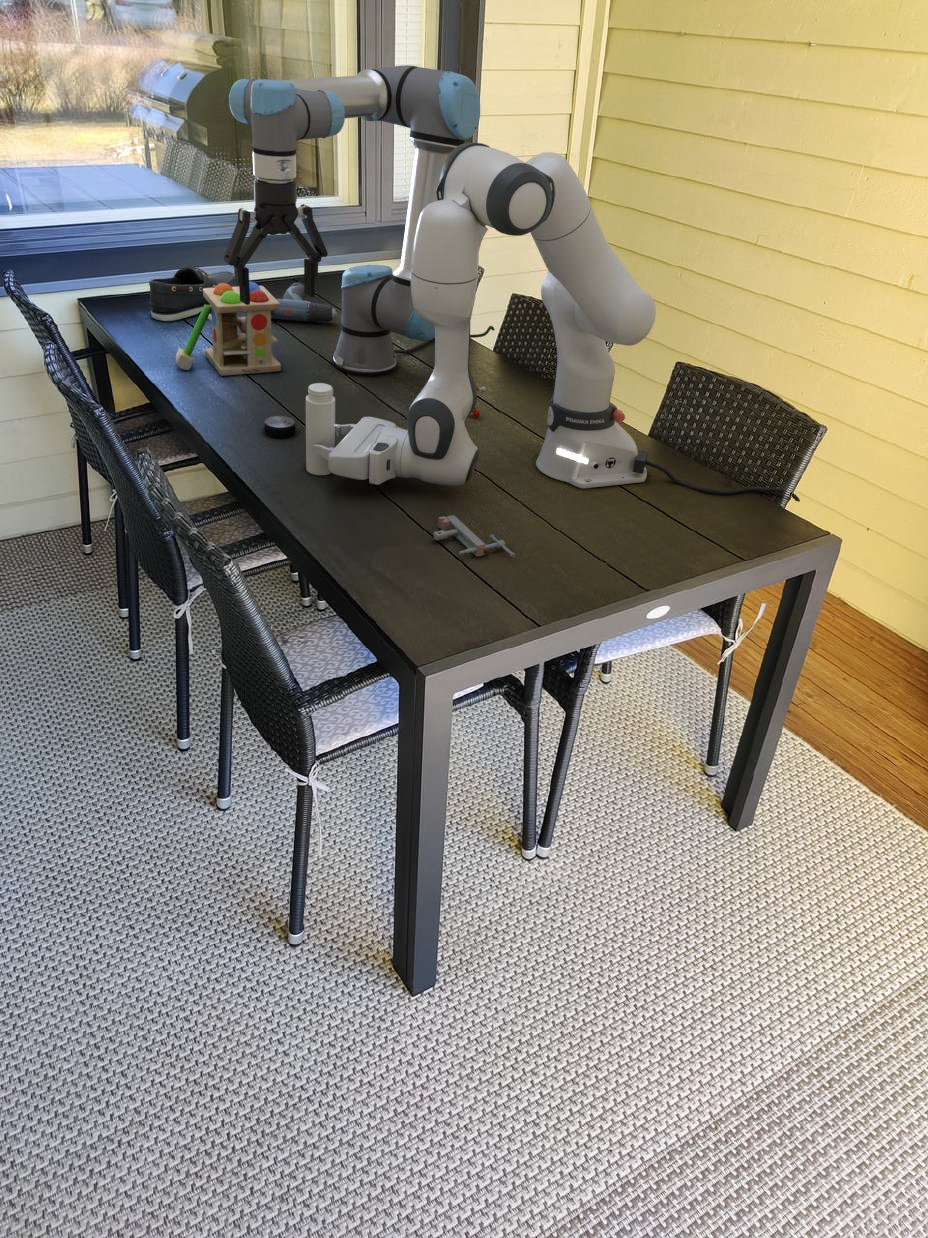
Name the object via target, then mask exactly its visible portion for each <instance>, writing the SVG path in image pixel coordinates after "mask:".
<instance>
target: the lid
mask: <svg viewBox="0 0 928 1238" xmlns="http://www.w3.org/2000/svg"><path fill="white" fill-rule="evenodd" d="M264 434H265V435H266V436H268V437H270V438H274V439H288V438H291V437H293V436H294V435H295V434H296V421H295V420H294V419H293V418H292V417H290V416H285V415H273V416H270V417H267V418H266V419H265V420H264Z"/></svg>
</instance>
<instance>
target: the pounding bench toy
mask: <svg viewBox="0 0 928 1238" xmlns="http://www.w3.org/2000/svg"><path fill="white" fill-rule="evenodd" d="M249 288H250V305H246V304H244V303H243V302H241V301H240V290H239V287H231V286H230V285H228V284H226V283H221V284H218V285H217V286H216V287H215V288H204V289H203V296H204V297H205V299H206V300H207V301H208V302H209V304H210V305H211V307H210V306H208V305H204V307H203V309H202V311H201V312H200V313H199V316H198V318H197V320H196V322H195V324H194V327H193V329H192V331H191V332H190V333H191V334H190V336H189V338H188V340H187V343H186V344H185V347H184V348H182V347H180V346H179V347H178V349H177V351H176V354H175V357H174V358H175V362H176V365H177V366H178V368H179V369H182V370H185V371H189V370H190V369H191V367H192V365H193V363H194V356H193V351H194V348H195V347H196V345H197V342H198V340H199V337H200V336H201V333H202V332H203V329H204V326H205V325H206V322H207V320H209V321H210V322H211V336H212V337H211V338H212V339H211V340H212V348H205V349H204V352H205V353H204V355H205V357H206V359H208V361H209V363H210V364H211V365H212V366H213V367H214V369H215V370H216V371H217V372H218V374H219V375H220V376H222V377H223V376H234V375H235V376H236V375H246V374H247V375H250V374H262V373H275V372H281V370H282V364H281V363H280V362H279V360H278V359H277V358H276V357H275V356H274V355H273V348H272V347H273V345H272V344H276V343H278V342H279V341H278V339H277V338H276V337H275V336H274V334H272V318H271V310H280V303H279V302H278V301H277V300H276V299H277V298H276V297H274V296H273V295H272V294H271V293H270V292H269V290H268V289H267V288H266V287H264V285H259V284H257V283H256V282H255V281H249ZM238 313H244V314H245V315H244V316H238ZM238 329H239V331H240V333H239V334H238Z"/></svg>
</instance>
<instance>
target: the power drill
mask: <svg viewBox="0 0 928 1238" xmlns="http://www.w3.org/2000/svg"><path fill="white" fill-rule="evenodd" d="M307 296H308V295H307V294H305V293H304V283H301V282H293V283H292V284H291V285H290V286H289V287H288V288H287V289H286V291H285V292H284V294H283V297H282V298H275V299H276V300H277V301H278V302H279V303H280V310H271V319H274V320H275V319H276V320H283V321H294V322H295V321H297V322H332V321H333V320H334V319H336V318H337V317H338V312H337V311H336V308H334V307H333V306H332V305H331V304H324V303H317V302H313V301H307V300H305V299H306V297H307Z"/></svg>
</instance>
